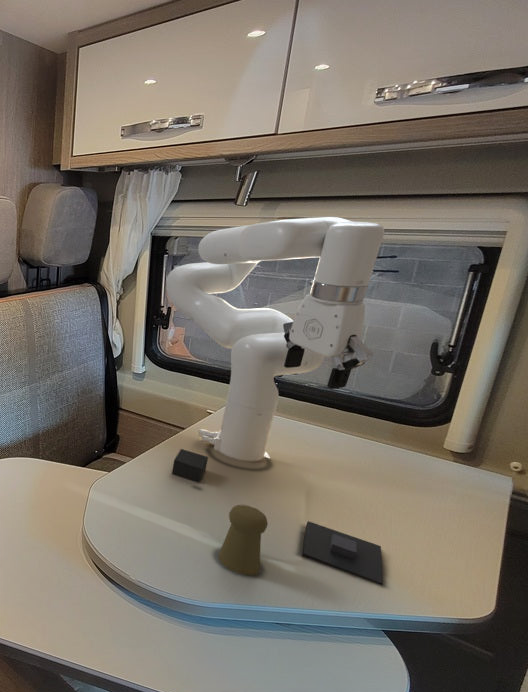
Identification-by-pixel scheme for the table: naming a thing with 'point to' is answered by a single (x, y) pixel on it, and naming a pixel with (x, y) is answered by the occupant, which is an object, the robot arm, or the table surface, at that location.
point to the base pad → (340, 562)
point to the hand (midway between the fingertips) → (312, 376)
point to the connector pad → (190, 465)
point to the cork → (243, 540)
